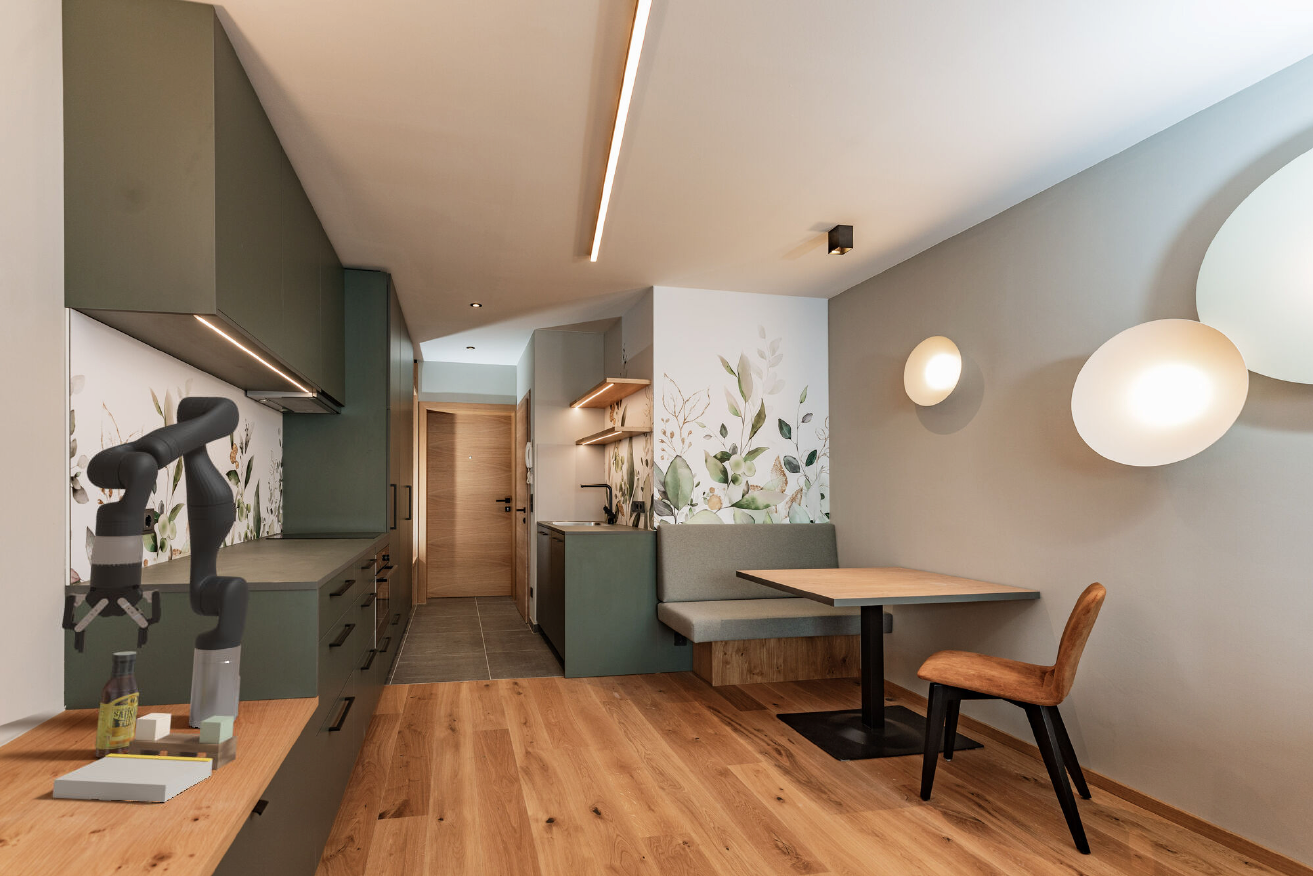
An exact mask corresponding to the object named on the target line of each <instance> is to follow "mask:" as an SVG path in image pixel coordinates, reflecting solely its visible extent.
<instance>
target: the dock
mask: <svg viewBox="0 0 1313 876" xmlns="http://www.w3.org/2000/svg"><path fill="white" fill-rule="evenodd" d="M212 770H213V769H212V758H206V757H197V758H192V757H171V756H167V755H166V756H165V755H160V756H149V755H128V753H127V754H109V755H106V756H105V757H104V758H99V759H98V760H96V761H93V762H91V763H89V764H87V765H84V766H82V767H80V768H78V769H76V770H73V771H71V772H68V773H66V774H63V775H62V776H59V777H57V778H55V779H54V781H53V791H52V798H55V799H73V800H74V799H75V800H91V799H99V800H98V801H111V800H133V801H134V800H135V801H136V800H137V801H158V802H159V801H160V802H165V801H167V800H168V799H171V798H172V797H174V796H176V795H177V794H179V793H180V792H182V791H184V790H186V789H187V788H189V787H190V786H193V785H194V784H197V783H198V782H200V781H202V780H203V781H205V780H206V779H205V778H207V779H209V778H210V777H211V776H212V772H213V771H212ZM209 776H210V777H209ZM208 777H209V778H208ZM204 779H205V780H204ZM203 781H202V782H203ZM200 783H201V782H200ZM198 784H199V783H198ZM198 784H197V785H198ZM193 787H194V786H193ZM186 791H187V790H186ZM179 795H180V794H179ZM176 797H177V796H176ZM174 798H175V797H174ZM172 799H173V798H172ZM172 799H171V800H172ZM167 802H168V801H167Z"/></svg>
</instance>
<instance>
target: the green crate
mask: <svg viewBox="0 0 1313 876" xmlns="http://www.w3.org/2000/svg"><path fill="white" fill-rule="evenodd" d="M234 722H235V721H234V716H213V717H210V718H208V719H206V720H204V721H202V722H201V727H200V728H199V731H200V732H199V734H200V740H199V743H211V744H220V743H222V742H224V741H226V740H228V739H230V738H231V737H232V736H234V735H233V733H234Z"/></svg>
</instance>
